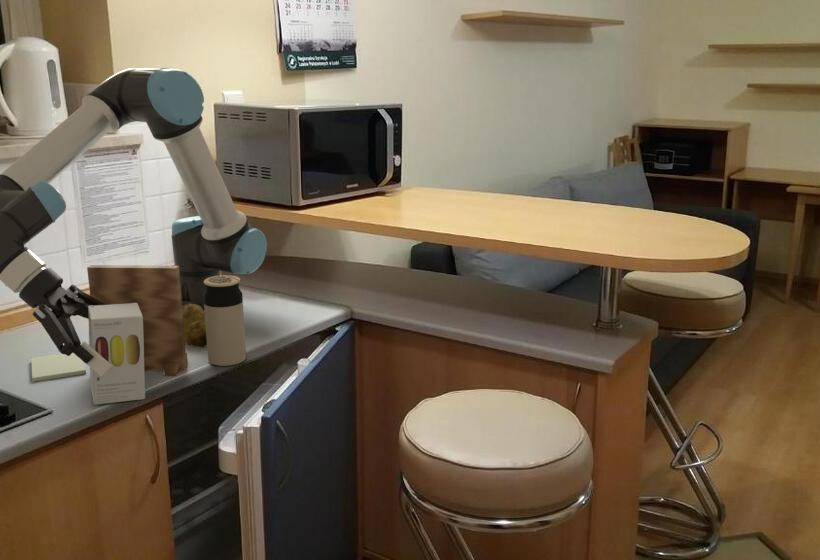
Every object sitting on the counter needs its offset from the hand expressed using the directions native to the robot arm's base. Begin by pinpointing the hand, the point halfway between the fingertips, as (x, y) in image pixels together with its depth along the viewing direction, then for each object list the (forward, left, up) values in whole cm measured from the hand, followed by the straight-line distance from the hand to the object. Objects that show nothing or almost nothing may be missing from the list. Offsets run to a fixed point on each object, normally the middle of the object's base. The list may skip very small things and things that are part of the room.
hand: (121, 357), depth 150 cm
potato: (-18, -25, -8) cm, 32 cm away
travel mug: (-22, -10, -8) cm, 25 cm away
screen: (-5, -13, -8) cm, 16 cm away
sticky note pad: (+11, -21, -8) cm, 25 cm away
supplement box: (+1, -1, -8) cm, 8 cm away
